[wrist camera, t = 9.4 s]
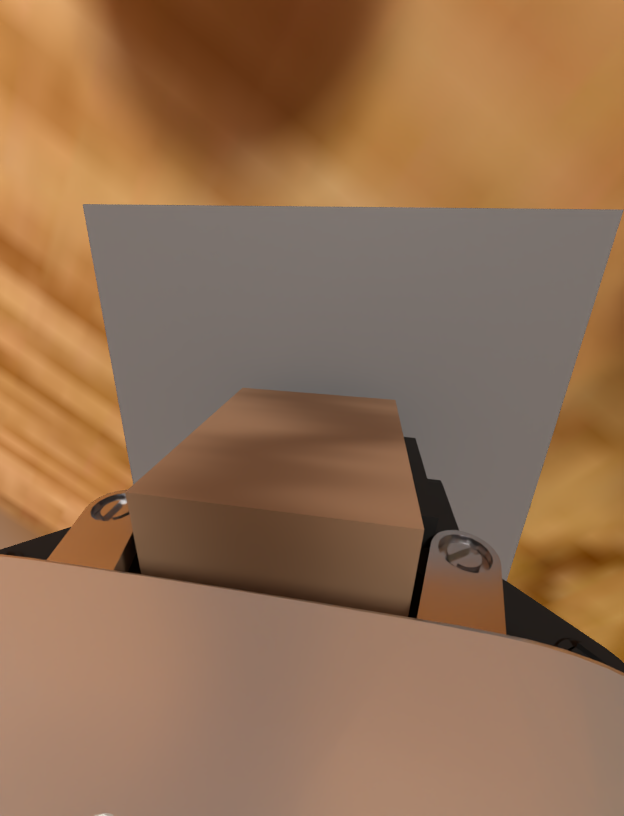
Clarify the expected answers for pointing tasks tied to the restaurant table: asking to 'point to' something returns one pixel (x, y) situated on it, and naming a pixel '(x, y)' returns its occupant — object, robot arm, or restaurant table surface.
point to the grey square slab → (358, 327)
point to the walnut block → (287, 502)
